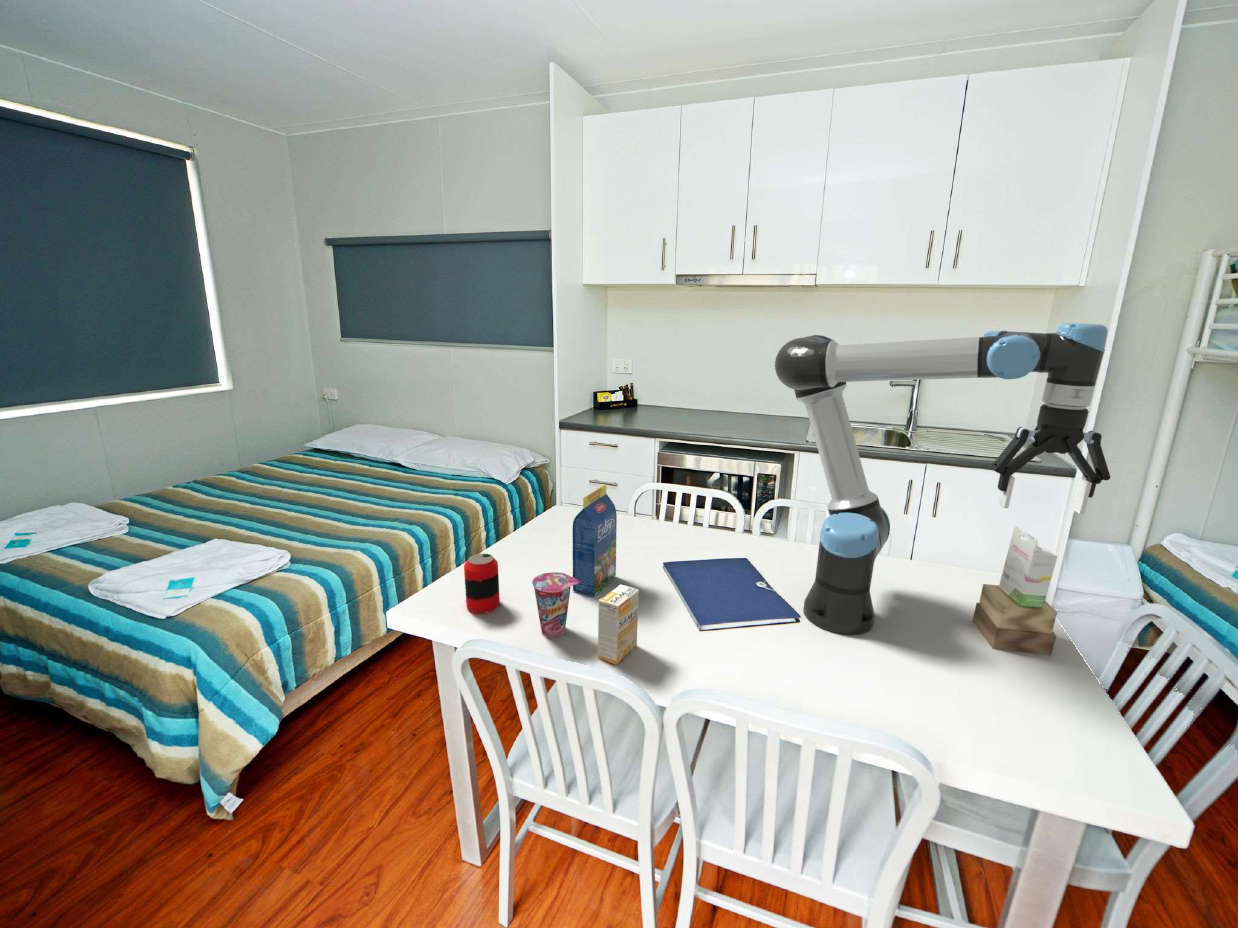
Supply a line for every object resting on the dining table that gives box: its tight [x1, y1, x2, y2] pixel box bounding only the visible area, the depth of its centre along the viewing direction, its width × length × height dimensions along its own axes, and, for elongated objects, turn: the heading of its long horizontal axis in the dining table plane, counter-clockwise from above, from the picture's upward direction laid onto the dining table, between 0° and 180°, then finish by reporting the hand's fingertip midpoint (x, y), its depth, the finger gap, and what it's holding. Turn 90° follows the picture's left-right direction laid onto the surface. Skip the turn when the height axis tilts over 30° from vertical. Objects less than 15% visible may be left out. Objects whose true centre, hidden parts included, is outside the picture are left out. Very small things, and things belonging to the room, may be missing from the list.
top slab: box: [978, 583, 1058, 634], centre depth 123 cm, size 10×10×5 cm
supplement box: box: [597, 584, 640, 665], centre depth 116 cm, size 8×5×13 cm, turn 148°
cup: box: [531, 571, 579, 639], centre depth 123 cm, size 9×8×12 cm
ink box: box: [998, 525, 1058, 608], centre depth 120 cm, size 9×5×15 cm, turn 174°
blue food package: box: [572, 483, 618, 597], centre depth 141 cm, size 6×12×25 cm, turn 155°
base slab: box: [972, 602, 1057, 656], centre depth 124 cm, size 11×11×5 cm
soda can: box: [463, 553, 501, 615], centre depth 132 cm, size 8×8×12 cm
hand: (1040, 509), depth 117 cm, fingers open, 13 cm apart
